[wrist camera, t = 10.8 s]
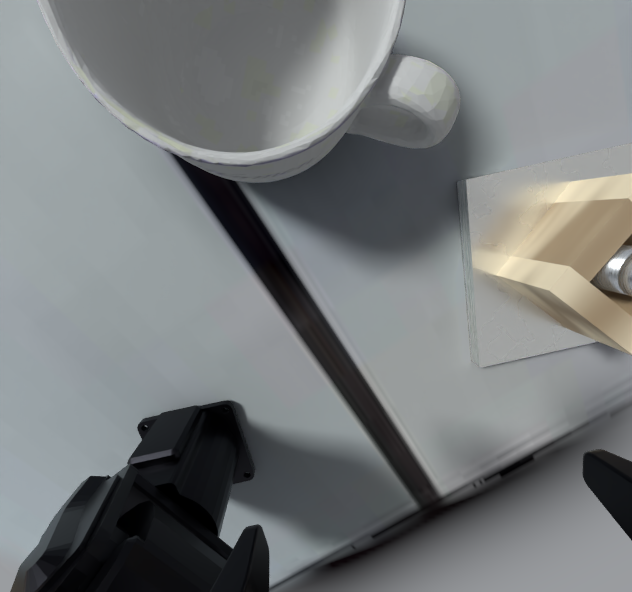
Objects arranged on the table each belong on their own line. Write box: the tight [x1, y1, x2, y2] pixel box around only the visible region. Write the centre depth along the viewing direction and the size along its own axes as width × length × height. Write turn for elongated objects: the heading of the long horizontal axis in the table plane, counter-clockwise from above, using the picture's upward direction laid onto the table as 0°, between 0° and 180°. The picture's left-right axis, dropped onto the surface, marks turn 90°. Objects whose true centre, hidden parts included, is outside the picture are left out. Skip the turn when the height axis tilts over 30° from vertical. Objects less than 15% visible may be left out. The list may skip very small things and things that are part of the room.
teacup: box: [37, 0, 460, 183], centre depth 12 cm, size 14×11×8 cm
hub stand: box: [457, 143, 632, 368], centre depth 16 cm, size 12×12×6 cm
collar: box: [496, 173, 632, 355], centre depth 16 cm, size 6×6×4 cm
